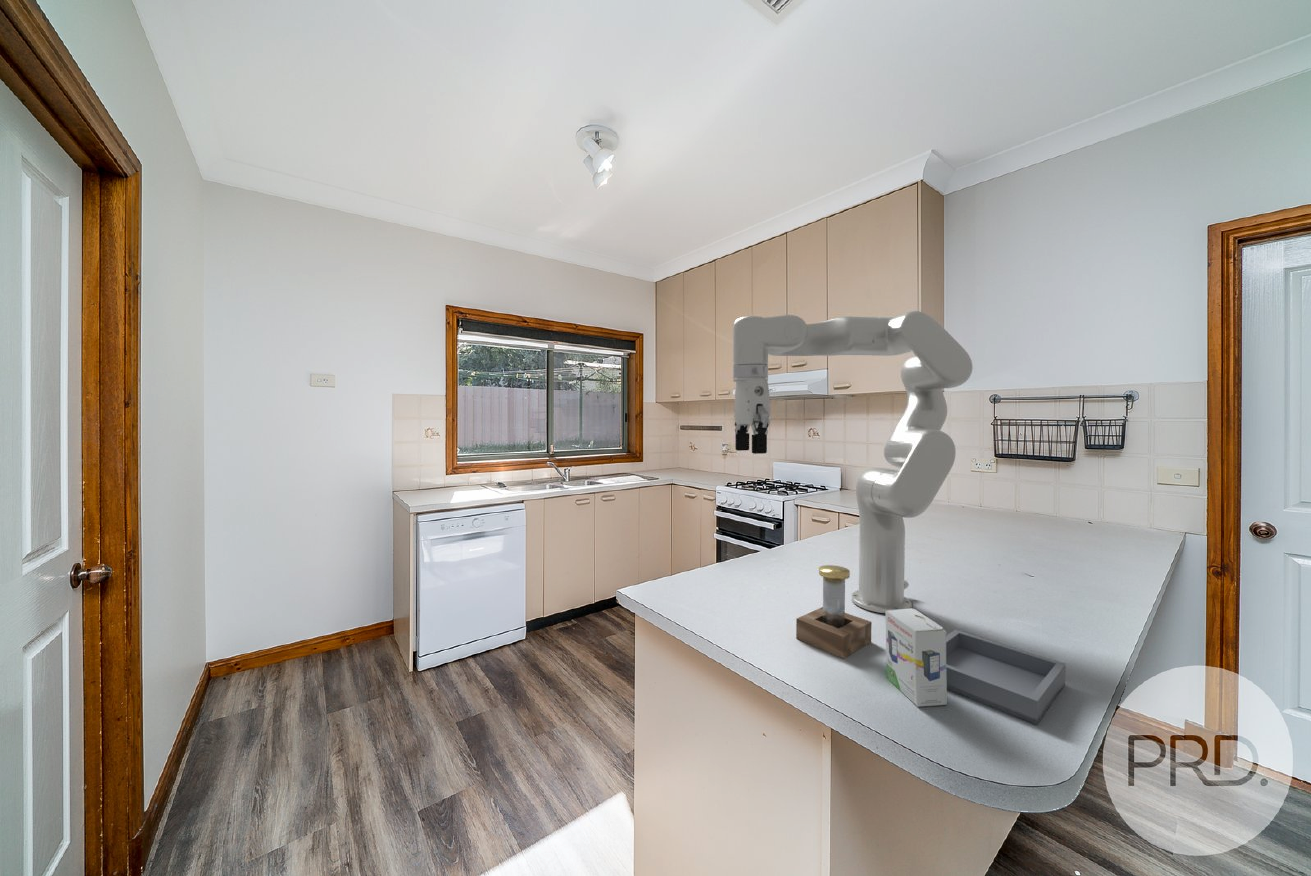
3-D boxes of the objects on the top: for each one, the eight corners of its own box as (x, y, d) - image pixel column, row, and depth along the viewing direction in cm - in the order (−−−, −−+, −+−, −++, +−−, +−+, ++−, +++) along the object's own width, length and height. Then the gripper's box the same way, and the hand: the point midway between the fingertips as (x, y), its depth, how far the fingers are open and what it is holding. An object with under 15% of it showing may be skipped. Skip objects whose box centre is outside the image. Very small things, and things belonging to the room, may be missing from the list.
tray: (954, 647, 89) (955, 629, 89) (1064, 685, 77) (1065, 664, 77) (917, 676, 79) (917, 656, 79) (1036, 725, 67) (1037, 701, 67)
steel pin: (828, 631, 96) (829, 563, 96) (854, 641, 92) (855, 570, 91) (812, 639, 93) (813, 569, 92) (838, 650, 89) (839, 576, 88)
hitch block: (824, 624, 99) (824, 605, 99) (871, 642, 92) (871, 621, 91) (796, 638, 93) (796, 618, 93) (843, 658, 85) (843, 636, 85)
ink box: (948, 706, 71) (949, 629, 71) (915, 708, 71) (916, 631, 70) (912, 675, 80) (913, 606, 79) (883, 677, 79) (884, 607, 79)
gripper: (784, 370, 96) (783, 454, 97) (751, 377, 113) (751, 449, 114) (749, 370, 95) (749, 455, 96) (721, 377, 112) (721, 449, 113)
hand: (750, 451), depth 105 cm, fingers open, 9 cm apart
